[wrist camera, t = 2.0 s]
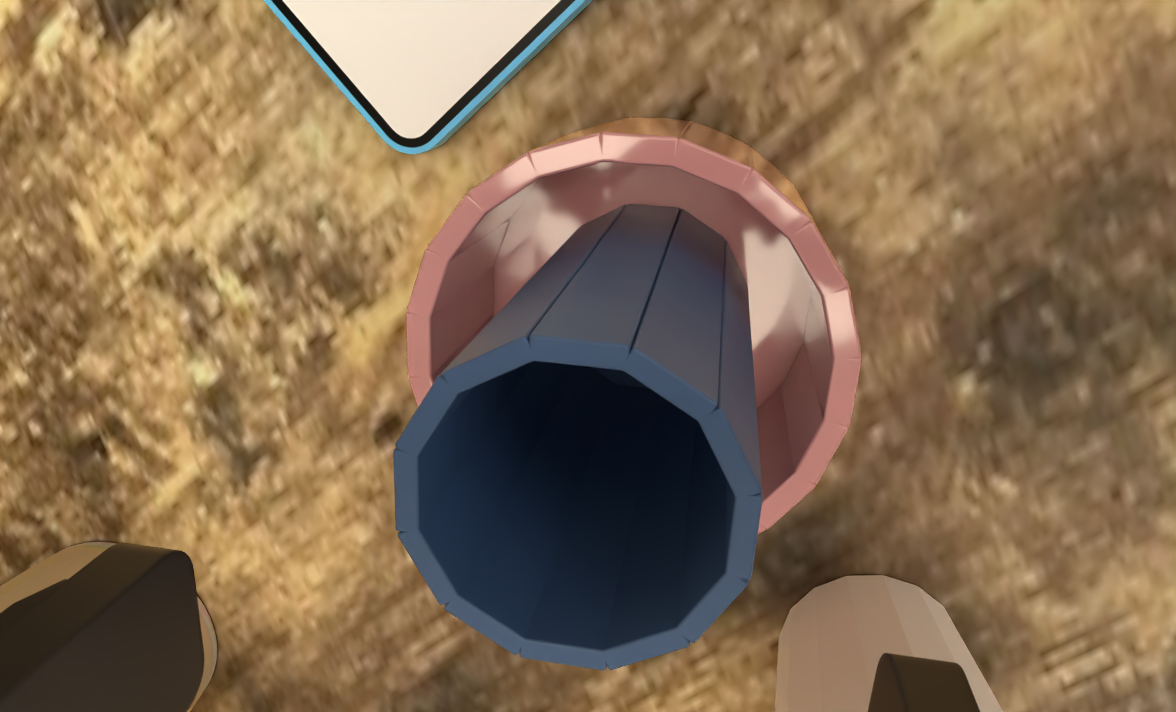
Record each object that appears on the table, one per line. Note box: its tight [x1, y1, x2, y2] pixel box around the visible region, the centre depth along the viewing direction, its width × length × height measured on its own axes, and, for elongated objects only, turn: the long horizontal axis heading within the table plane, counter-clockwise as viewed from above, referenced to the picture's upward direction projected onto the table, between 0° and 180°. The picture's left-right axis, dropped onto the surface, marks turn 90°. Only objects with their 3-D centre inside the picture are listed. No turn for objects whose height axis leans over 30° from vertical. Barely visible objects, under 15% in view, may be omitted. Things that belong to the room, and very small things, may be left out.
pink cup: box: [406, 117, 862, 534], centre depth 21 cm, size 10×10×6 cm
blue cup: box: [394, 204, 763, 670], centre depth 18 cm, size 6×6×12 cm
